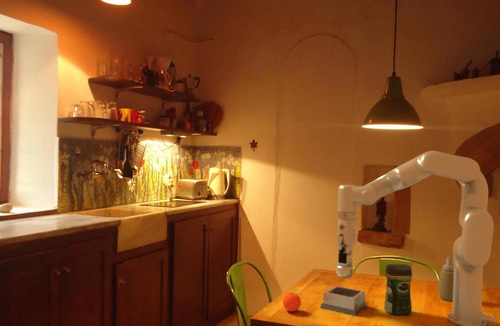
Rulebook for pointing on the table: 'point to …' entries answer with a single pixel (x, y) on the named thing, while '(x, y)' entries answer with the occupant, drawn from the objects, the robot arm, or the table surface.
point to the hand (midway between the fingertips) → (345, 261)
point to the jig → (344, 300)
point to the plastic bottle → (347, 268)
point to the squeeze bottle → (446, 281)
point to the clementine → (291, 301)
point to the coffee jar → (398, 289)
